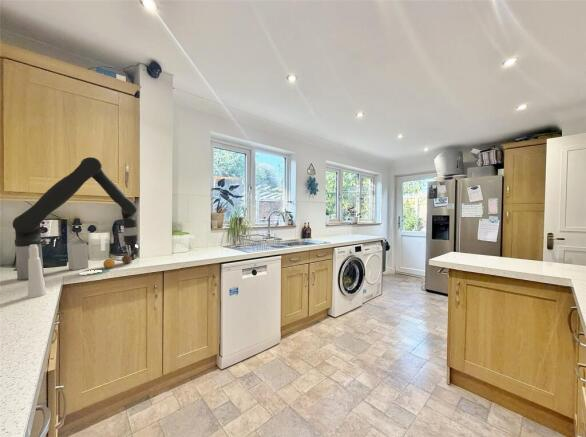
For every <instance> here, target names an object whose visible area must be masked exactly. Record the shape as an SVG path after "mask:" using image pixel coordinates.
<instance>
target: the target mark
mask: <svg viewBox="0 0 586 437" xmlns="http://www.w3.org/2000/svg"><path fill="white" fill-rule="evenodd" d="M89 270H90V271H91V270H94V271H95V270H102V272H97V273H93V274H87V275H82V276H85V277H86V276H87V277H88V276H95V275H101V274H104V273H105V274H106V273H108V272H109V271H111V268H106V267H98V268H97V267H96V268H91V269H86V270H84V271H89Z"/></svg>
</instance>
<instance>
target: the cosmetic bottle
mask: <svg viewBox="0 0 586 437" xmlns="http://www.w3.org/2000/svg"><path fill="white" fill-rule="evenodd" d="M29 246H30V247H29V257H30V259H28V275H29V279H28V287H27V288H28V289H27V296H26V297H27V298H30V299H31V298H37V297H42V296H45V295H47V294H48V292H47V287H46V284H45V279H44V275H43V272H42V265H41V259H40V258H39V253H38V247H37V245H36V244H35V245H29Z"/></svg>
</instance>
